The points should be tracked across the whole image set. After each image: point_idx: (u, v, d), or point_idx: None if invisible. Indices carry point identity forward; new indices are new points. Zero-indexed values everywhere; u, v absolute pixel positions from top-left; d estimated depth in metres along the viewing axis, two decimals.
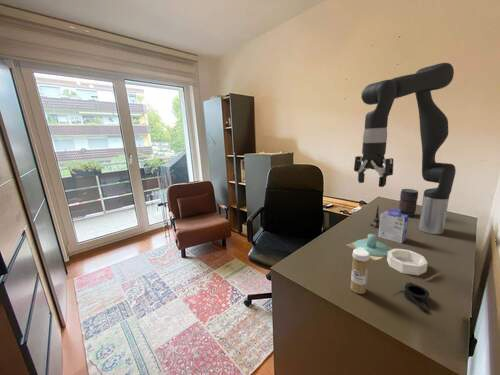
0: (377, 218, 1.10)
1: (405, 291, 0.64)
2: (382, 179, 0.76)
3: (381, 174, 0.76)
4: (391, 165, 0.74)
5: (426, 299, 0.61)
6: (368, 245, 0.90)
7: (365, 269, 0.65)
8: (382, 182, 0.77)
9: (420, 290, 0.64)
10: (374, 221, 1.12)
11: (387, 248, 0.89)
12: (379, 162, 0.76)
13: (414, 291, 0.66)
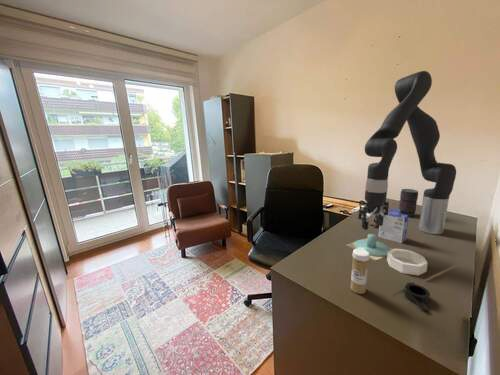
0: None
1: (405, 291, 0.64)
2: (382, 219, 0.90)
3: (383, 215, 0.89)
4: None
5: (426, 299, 0.61)
6: (368, 245, 0.90)
7: (365, 269, 0.65)
8: (382, 221, 0.90)
9: (421, 290, 0.64)
10: (374, 221, 1.12)
11: (387, 248, 0.89)
12: (382, 206, 0.88)
13: (415, 291, 0.66)
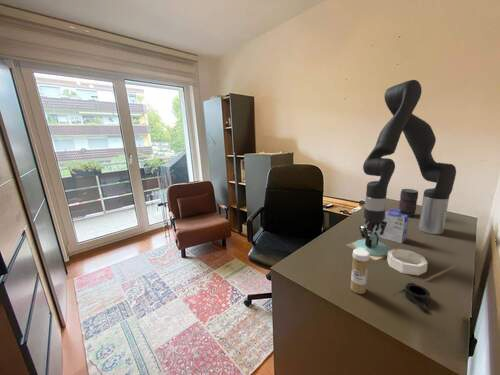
0: None
1: (405, 291, 0.64)
2: (378, 238, 0.91)
3: (379, 235, 0.90)
4: None
5: (426, 299, 0.61)
6: None
7: (365, 269, 0.65)
8: (377, 241, 0.91)
9: (421, 290, 0.64)
10: None
11: (387, 248, 0.89)
12: (380, 225, 0.89)
13: (415, 291, 0.65)
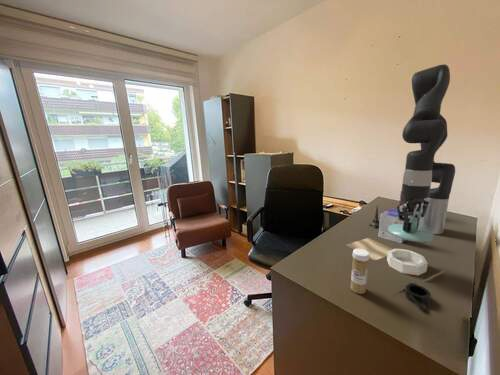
0: (376, 218, 1.10)
1: (406, 290, 0.64)
2: (418, 221, 0.75)
3: (420, 217, 0.74)
4: None
5: (426, 299, 0.61)
6: None
7: (365, 269, 0.65)
8: (417, 224, 0.76)
9: (422, 291, 0.64)
10: (373, 221, 1.12)
11: (430, 233, 0.73)
12: None
13: (416, 291, 0.65)
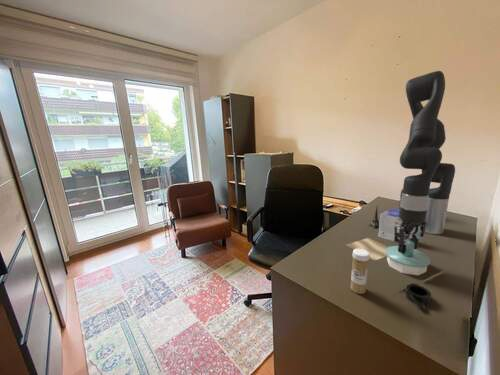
0: (376, 218, 1.10)
1: (406, 290, 0.65)
2: (417, 241, 0.77)
3: (419, 237, 0.77)
4: None
5: (426, 300, 0.61)
6: None
7: (365, 269, 0.65)
8: None
9: (423, 291, 0.64)
10: (373, 221, 1.11)
11: (426, 257, 0.76)
12: (419, 226, 0.76)
13: (417, 292, 0.65)
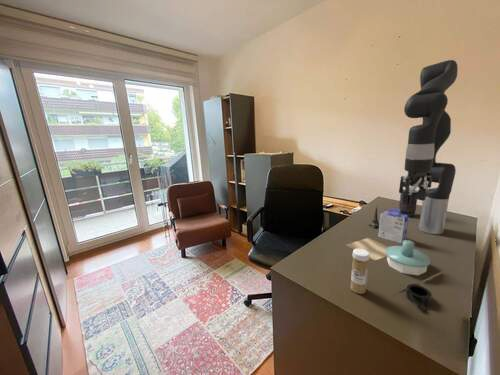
0: (376, 218, 1.10)
1: (406, 290, 0.65)
2: None
3: (427, 188, 0.76)
4: None
5: (426, 300, 0.61)
6: (403, 253, 0.77)
7: (365, 269, 0.65)
8: None
9: (424, 291, 0.64)
10: (373, 221, 1.11)
11: (426, 257, 0.76)
12: (425, 177, 0.75)
13: (418, 292, 0.65)
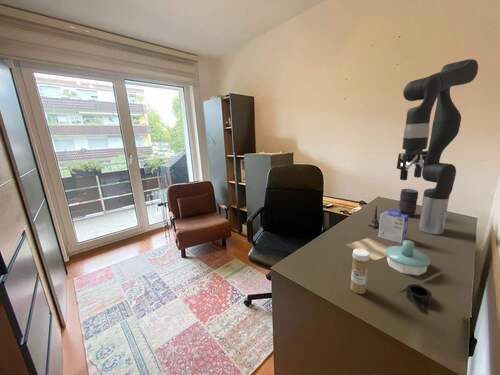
0: (375, 219, 1.10)
1: (407, 290, 0.65)
2: None
3: (422, 165, 0.84)
4: None
5: (426, 300, 0.61)
6: (403, 253, 0.77)
7: (365, 269, 0.65)
8: (420, 173, 0.85)
9: (425, 292, 0.64)
10: (372, 222, 1.11)
11: (426, 257, 0.76)
12: (421, 155, 0.83)
13: (418, 292, 0.65)
